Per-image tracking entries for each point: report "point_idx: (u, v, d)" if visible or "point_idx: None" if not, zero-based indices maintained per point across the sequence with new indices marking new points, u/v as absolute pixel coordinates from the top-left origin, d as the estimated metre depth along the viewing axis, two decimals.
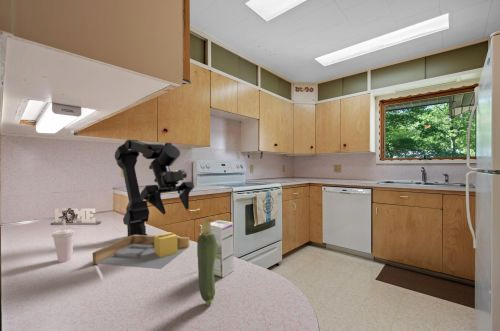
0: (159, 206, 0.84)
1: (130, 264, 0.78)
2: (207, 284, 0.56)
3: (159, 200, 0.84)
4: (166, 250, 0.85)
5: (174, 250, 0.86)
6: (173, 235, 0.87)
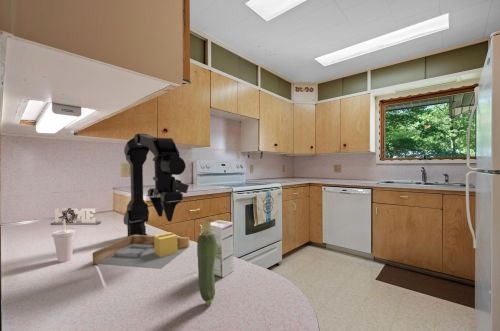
0: (171, 213, 0.83)
1: (130, 264, 0.78)
2: (207, 284, 0.56)
3: None
4: (166, 250, 0.85)
5: (174, 250, 0.86)
6: (173, 235, 0.87)
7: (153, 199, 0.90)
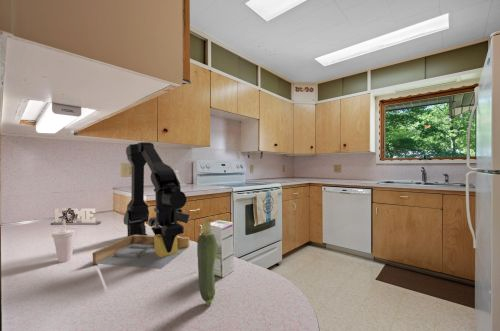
0: (170, 244, 0.84)
1: (130, 264, 0.78)
2: (207, 284, 0.56)
3: None
4: (166, 250, 0.85)
5: (174, 250, 0.86)
6: None
7: (155, 230, 0.89)
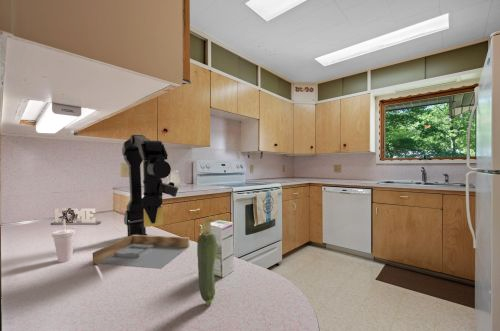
0: (153, 215, 0.84)
1: (130, 264, 0.78)
2: (207, 284, 0.56)
3: None
4: (150, 221, 0.85)
5: (159, 221, 0.86)
6: (159, 207, 0.87)
7: None
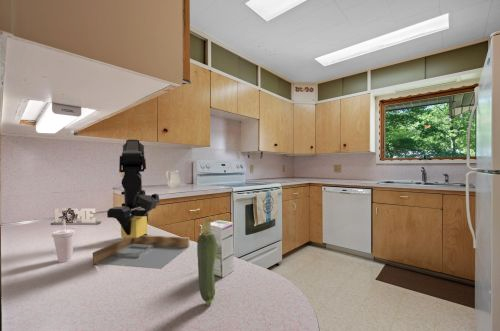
0: (126, 227, 0.84)
1: (130, 264, 0.78)
2: (207, 284, 0.56)
3: (129, 222, 0.84)
4: None
5: (133, 234, 0.85)
6: (136, 219, 0.86)
7: (135, 211, 0.92)
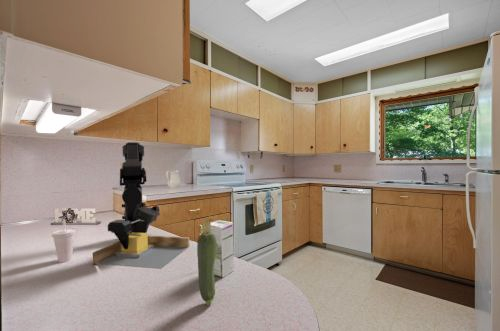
0: (124, 241, 0.83)
1: (130, 264, 0.78)
2: (207, 284, 0.56)
3: (127, 236, 0.83)
4: (127, 249, 0.86)
5: (134, 251, 0.85)
6: (136, 237, 0.86)
7: (137, 222, 0.94)
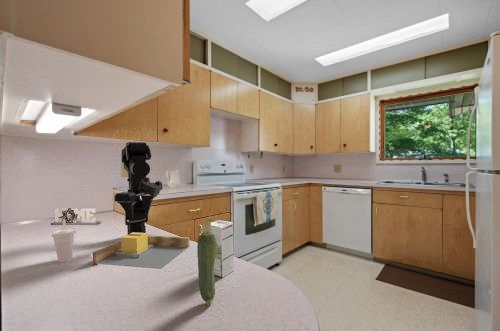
0: (129, 212, 0.90)
1: (130, 264, 0.78)
2: (207, 284, 0.56)
3: (132, 207, 0.90)
4: (127, 249, 0.86)
5: (134, 251, 0.85)
6: (136, 237, 0.86)
7: (142, 197, 1.01)
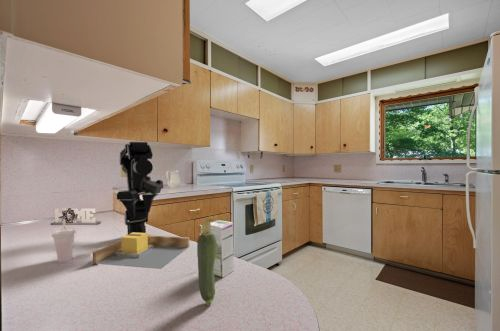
0: (131, 210, 0.91)
1: (130, 264, 0.78)
2: (207, 284, 0.56)
3: (133, 205, 0.91)
4: (127, 249, 0.86)
5: (134, 251, 0.85)
6: (136, 237, 0.86)
7: (143, 196, 1.02)
